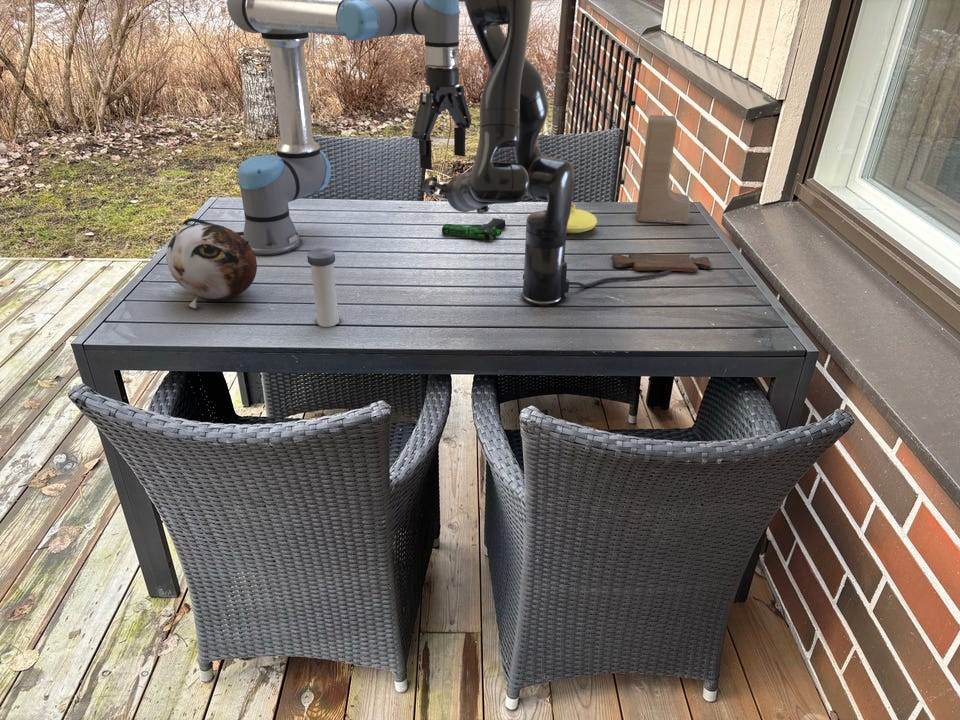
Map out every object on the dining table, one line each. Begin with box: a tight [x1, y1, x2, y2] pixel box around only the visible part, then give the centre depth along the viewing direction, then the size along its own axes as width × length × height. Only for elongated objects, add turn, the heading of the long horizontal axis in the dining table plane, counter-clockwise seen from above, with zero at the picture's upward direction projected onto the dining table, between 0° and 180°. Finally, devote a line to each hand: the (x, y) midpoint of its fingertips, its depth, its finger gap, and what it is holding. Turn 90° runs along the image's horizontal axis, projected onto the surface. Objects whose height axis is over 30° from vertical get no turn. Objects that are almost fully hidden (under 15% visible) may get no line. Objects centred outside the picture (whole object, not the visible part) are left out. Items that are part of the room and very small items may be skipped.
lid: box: [307, 248, 336, 266], centre depth 151 cm, size 6×6×2 cm
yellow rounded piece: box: [566, 203, 598, 234], centre depth 209 cm, size 16×16×7 cm
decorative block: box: [635, 114, 692, 225], centre depth 212 cm, size 8×15×30 cm, turn 82°
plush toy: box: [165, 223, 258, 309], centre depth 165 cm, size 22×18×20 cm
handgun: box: [441, 217, 506, 242], centre depth 207 cm, size 16×3×15 cm
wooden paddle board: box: [611, 252, 711, 273], centre depth 188 cm, size 26×2×10 cm
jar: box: [310, 263, 340, 328], centre depth 155 cm, size 5×5×16 cm
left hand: (443, 161), depth 169 cm, fingers open, 13 cm apart
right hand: (446, 198), depth 158 cm, fingers open, 8 cm apart
